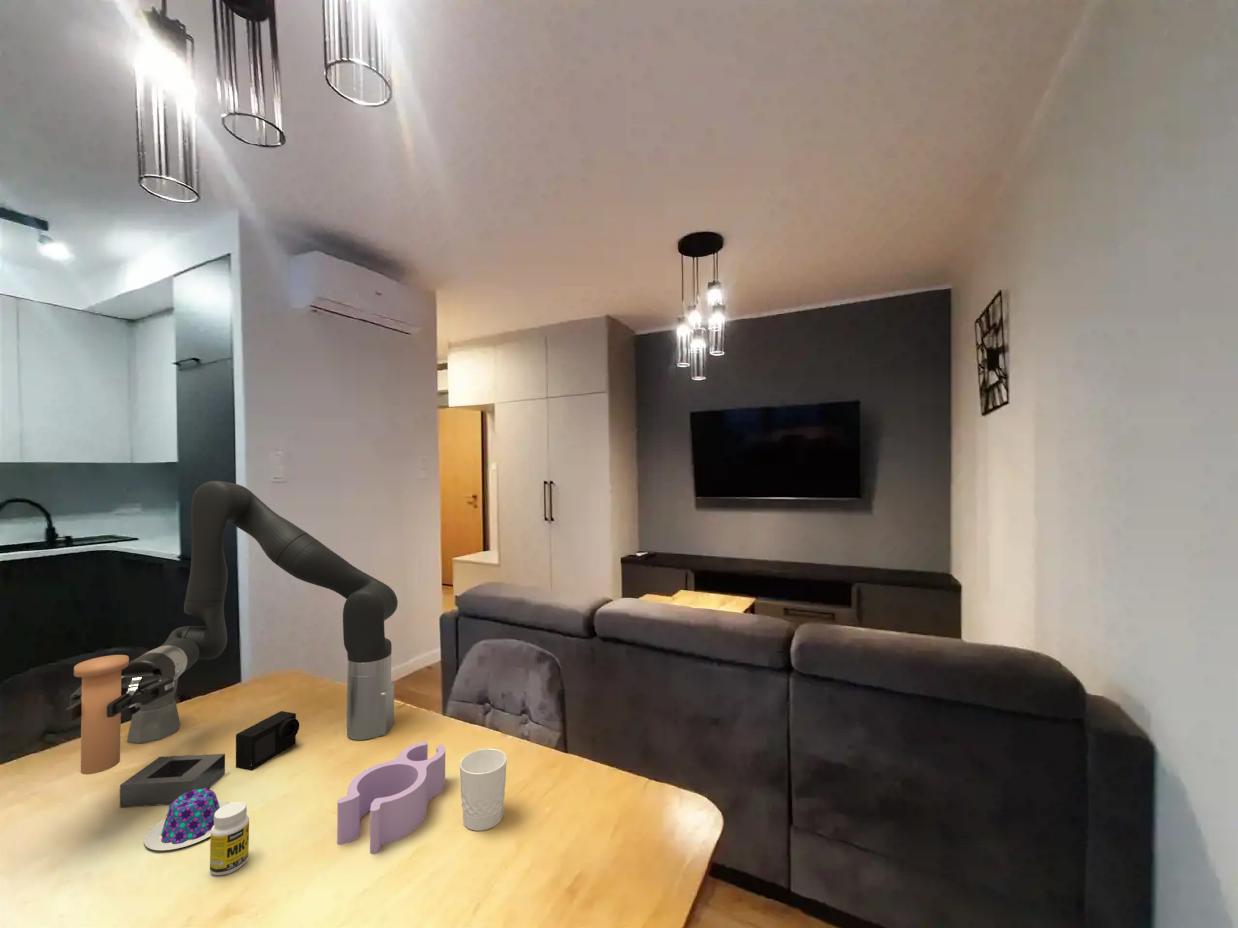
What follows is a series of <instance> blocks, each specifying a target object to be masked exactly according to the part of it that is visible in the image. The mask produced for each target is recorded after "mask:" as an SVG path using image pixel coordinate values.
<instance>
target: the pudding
mask: <svg viewBox="0 0 1238 928" xmlns="http://www.w3.org/2000/svg"><path fill="white" fill-rule="evenodd" d="M229 803H230V802H229V801H223V800H221V801H219V800H218V797H217V795H216V792H214V790H211V789H210V788H209V789H208V788H204V789H196V790H192V791H190V792H189V793H185V794H182V795H181V796H179V797H178V799H176V800H174V801H173V802H172V803H171V804H170V805H169V807H168V811H167V814H166V817H165V818H164V819H162V820H161V821H158V823H156V824H155V825H154V826H153V827H152V828H150V829H149V831H148V832H147V833H146V835H145V837H144V840H143V842H144V845H145V846H146V847H147V848H148V849H150V850H152V851H153V850H154V851H170V850H176V849H177V850H178V849H180V848H184V847H189V846H190V845H191V846H192V845H193V844H196V843H198V842H201V841H203V840H206V839H207V838H209V837H211V829H212V827H213V826H214V814H215V812H216V811H217V810H218V809H219V808H221V807H223V806H225V805H227V804H229ZM160 836H161V837H160ZM160 838H161V839H160ZM168 843H171V844H168Z"/></svg>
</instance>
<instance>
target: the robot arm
mask: <svg viewBox="0 0 1238 928" xmlns="http://www.w3.org/2000/svg"><path fill="white" fill-rule="evenodd" d="M190 511H191V513H190V514H191V557H190V558H191V559H190V560H191V561H190V563H191V564H190V570H189V571H190V572H189V577H188V583H187V587H186V588H187V589H186V594H185V600H184V605H183V611H184V613H185V614H186V615H189V616H193V617H196V618H200V619H202V620H203V622H204V623H205V625H204V626H203V625H186V626H181V627H176V629H174V630H172V631H171V632H170V634H169V636H168V637H167V639H166V640H165V641H164V643H163V644H161V645H160V646H158V647H156V648H153V649H151V650H148V651H147V652H146V653H143V654H142V655H139V657H137V658H134V659H133V660H132V661H129V665H128V666H127V667H126V668H124V669H122V670H121V696H120V697H118V698H117V699H115V700H114V701H112V702H111V703H109V704H108V706H107V717H114V716H116V715H117V714H118V713H121V714H122V712H124V711H125V710H126V709H128V708H131V707H133V706H135V705H136V703H141V705H146V704H149V703H151V702H153V701H155V700H157V699H158V698H160V697H162V696H164V695H166V694H168V693H170V692H172V691H174V681H175V680H176V679H177V678H178V677H180V676H181V675H183V673H185V672H186V671H187V670H189V669H191V667H192V666H193V665H194V664H196V662H197V661H198V660H213V659H217V658H218V657H219V656H221V655H222V653H223V652H224V651H225V649H226V647H227V643H228V631H227V625H226V619H225V608H224V607H225V605H224V604H225V598H226V593H227V587H228V582H229V581H228V579H229V577H228V574H229V573H228V572H229V571H228V566H227V562H226V557H225V552H224V544H223V542H224V531H225V527H226V524H227V523H228V524H229V525H233V526H235V528H238V529H239V530H241V531H243V532H245V533H246V534H248V535H249V536H250V537H252V538H253V539H254V540H255V541H256V542H257V543H258V544H259V546H260V548H261V549H262V551H263V552H264V554H265V555H266V556H267V558H268V559H269V560H270V561H271V562H272V563H274V564H275V565H276V566H278V567H279V568H281V569H282V570H283V571H285V572H286V573H288V574H289V575H290V576H292V577H294V578H296V579H298V580H299V581H303V582H306V583H308V584H311V585H314V586H318V587H321V588H325V589H327V590H330V591H333V592H334V593H337V594H338V595H340V596H341V597H342V598H344V599H346V600H345V602H344V605H343V609H342V628H343V630H342V632H343V635H342V636H343V645H344V646H343V647H344V648H345V650H346V653H347V654H346V655H347V666H346V667H347V668H346V669H347V672H346V673H347V675H346V677H347V679H346V684H347V685H346V735H347V737H348V738H349V739H351V740H355V741H364V740H370V739H374V738H377V737H381V736H386V735H387V733H388V732H389V731H390V729H391V728H392V726H393V725H394V723H395V683H394V682H392V649H393V648H392V646H393V645H392V642H391V640H390V639H388V638H386V634H385V621H387V620H388V619H389V618H391V616H393V615H394V614H395V613H396V610H397V608H398V603H399V600H398V597H397V594H396V593H395V591H394V590H393V589H392V587H390V586H389V585H388V584H386V583H384V582H383V581H380V580H379V579H377V578H375V577H373V576H371V575H370V574H368V573H366V572H364V571H362V570H360V569H359V568H358V567H355V566H354V565H353V564H351V563H350V562H348V561H347V560H346V559H344V558H343V557H342V556H340V555H339V554H337V553H336V552H334V551H333V550H331V549H330V548H329V547H327V546H326V545H325V544H324V543H322V542H321V541H320V540H318V539H317V538H315V537H314V536H312V535H311V534H310V533H308V532H307V531H305V530H303V529H302V528H300V527H298V526H297V525H295V523H292V522H291V521H289V520H288V519H286V518H284V517H283V516H281V515H280V514H278V513H276V512H275V511H274V510H273V509H271V507H269V506H268V505H267V504H265V503H264V502H263V501H262V500H261V499H260V498H259V497H258V496H257V495H255V494H254V493H253V492H252V491H251V490H250V489H248V488H247V487H245V486H243V485H241V484H238V483H232V482H228V481H221V480H211V481H207V482H205V483H202V484H201V485H200V486H199V487H197V489H196V490H195V491H194V494H193V496H192V500H191V510H190ZM178 679H179V678H178ZM69 699H70V700H69V706H68V707H67V708H65V719H66V721H67V722H74V721H76V720H77V719H78V718H81V707H82V684H81V685H80V686H79V687H78V688H77V689H76V690H75V691H74V692H73V693H72V694H70V697H69Z"/></svg>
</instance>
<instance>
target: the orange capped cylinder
mask: <svg viewBox="0 0 1238 928" xmlns="http://www.w3.org/2000/svg"><path fill="white" fill-rule="evenodd" d="M129 663H130V657H129V655H126V654H125V655H124V654H111V655H105V656H99V657H95V658H94V657H93V658H91V659H90V658H89V659H87V660H84V661H82V662H81V661H80V662H79V663H77V664H75V665H74V667H73V676H74V678H75V677H76V678H81V685H82V707H81V716H80V718H81V720H80V722H81V724H80V774H82V775H94V774H95V775H96V774H98V773H103V772H105V771H107V770H110V769H113V768H114V767H116V766H117V765H118V764H120V762H121V722H122V721H121V720H122V719H121V717H122V712H121V713H118V714H117V715H116V716H114V717H107V706H108V704H109V703H111V702H112V701H114V700H115V699H117V698H118V697H120V696H121V670H122V669H124V668H126V667H127V666H128V665H129Z"/></svg>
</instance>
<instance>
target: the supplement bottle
mask: <svg viewBox="0 0 1238 928" xmlns="http://www.w3.org/2000/svg"><path fill="white" fill-rule="evenodd" d="M247 810H248V809H247V803H246V802H244V801H233V802H229V804H227V805H225V806H223V807H221V808H219V809H218V810H217V811H216V812H215V814H214V826H213V827H212V829H211V830H210V832H211V836H210V840H209V841H210V844H209V845H210V848H209V852H210V853H209V872H210V873H211V874H212V875H214V876H224V875H228V874H231V873H233V872H236V871H237V870H239V869H240V868H241V867H242V866H243V865H244V864H246V862H247V861H248V859H249V849H250V848H249V846H250V845H249V843H250V841H249V840H250V833H249V832H250V817H249V815H247V813H248V811H247Z"/></svg>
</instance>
